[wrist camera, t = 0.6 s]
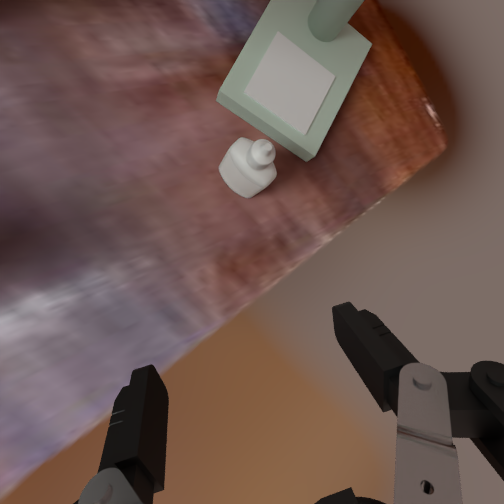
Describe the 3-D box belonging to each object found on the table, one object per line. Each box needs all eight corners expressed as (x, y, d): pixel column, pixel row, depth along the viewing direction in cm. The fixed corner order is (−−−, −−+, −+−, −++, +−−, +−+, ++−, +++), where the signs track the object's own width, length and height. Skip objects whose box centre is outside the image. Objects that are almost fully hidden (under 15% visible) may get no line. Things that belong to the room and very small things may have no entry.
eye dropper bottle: (229, 204, 37) (255, 183, 25) (215, 161, 36) (235, 119, 25) (260, 195, 38) (299, 171, 26) (247, 153, 37) (281, 110, 26)
